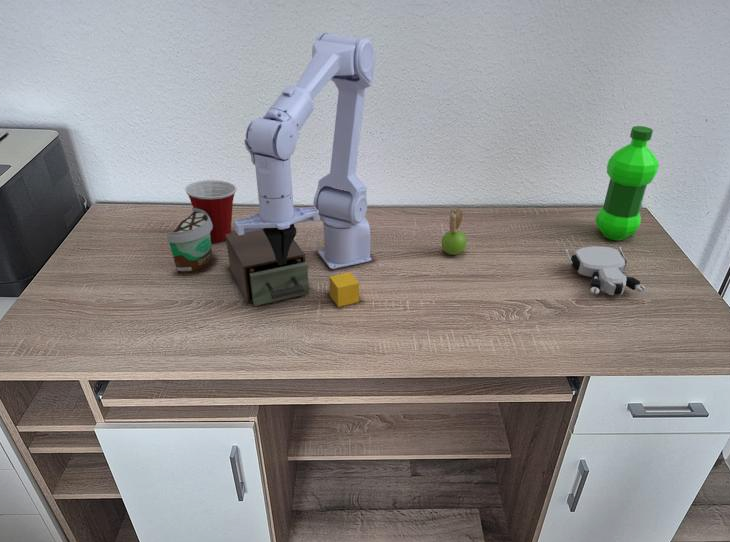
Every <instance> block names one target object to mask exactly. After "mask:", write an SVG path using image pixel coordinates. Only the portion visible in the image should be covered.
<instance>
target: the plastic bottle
mask: <svg viewBox="0 0 730 542" xmlns="http://www.w3.org/2000/svg"><path fill="white" fill-rule="evenodd" d="M653 132H654V129H652V128H651V127H647V126H643V125H636V126H632V127H631V130H630V133H629V134H630V135H629V137H630V138H631V141H630V143H629V144H627V145H625V146H622V147H621V148H619V149H618V150H616V151H614V153H613V154H612V155H611V156H610V157H609V159H608V161H607V165H606V173H607V175H608V177H609V178H610V179H609V182H608V186H607V190H606V194H605V197H604V203H603V206H602V207H601V208H600V210H599V212H598V213H597V214H596V216H595V224H596V226H597V228H598V230H599V231H600V232H601V233H602V235H603V236H604V237H605V238H607V239H609V240H611V241H612V240H613V241H622V240H625V239H627V238H629V237H631V236H633V235H635V233H636V232H637V231H638V229H639V228H640V226H641V223H642V218H641V217H642V216H641V212H640V210H641V207H642V204H643V199H644V197H645V193H646V189H647V186H648V185H649V184H651V183H652V182H653V180H654V179H655V177H656V175H657V173H658V170H659V167H660V166H659V159H658V158H657V157H656V156H655V155H654V153H653V152H652V151H651V149H650V148H649V147H648V146H647V144H648V142H649V141H651V139H652V136H653Z"/></svg>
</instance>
